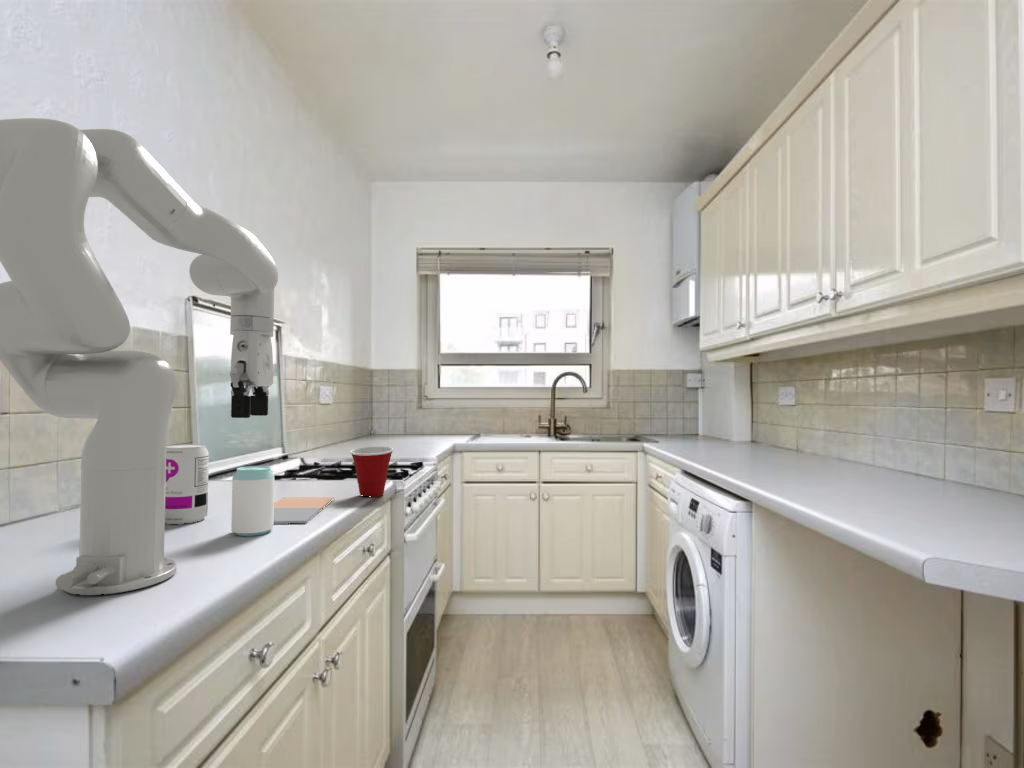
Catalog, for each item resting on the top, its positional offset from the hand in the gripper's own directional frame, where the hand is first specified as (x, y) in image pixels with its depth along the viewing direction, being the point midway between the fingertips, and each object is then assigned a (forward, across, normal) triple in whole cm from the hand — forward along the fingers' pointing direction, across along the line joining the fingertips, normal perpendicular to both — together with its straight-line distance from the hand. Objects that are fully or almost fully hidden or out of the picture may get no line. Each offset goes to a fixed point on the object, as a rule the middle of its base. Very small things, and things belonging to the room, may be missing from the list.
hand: (250, 416), depth 103 cm
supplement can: (+22, +7, +15) cm, 27 cm away
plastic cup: (+22, +31, -19) cm, 42 cm away
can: (+22, -3, -2) cm, 22 cm away
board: (+21, +15, -4) cm, 26 cm away
